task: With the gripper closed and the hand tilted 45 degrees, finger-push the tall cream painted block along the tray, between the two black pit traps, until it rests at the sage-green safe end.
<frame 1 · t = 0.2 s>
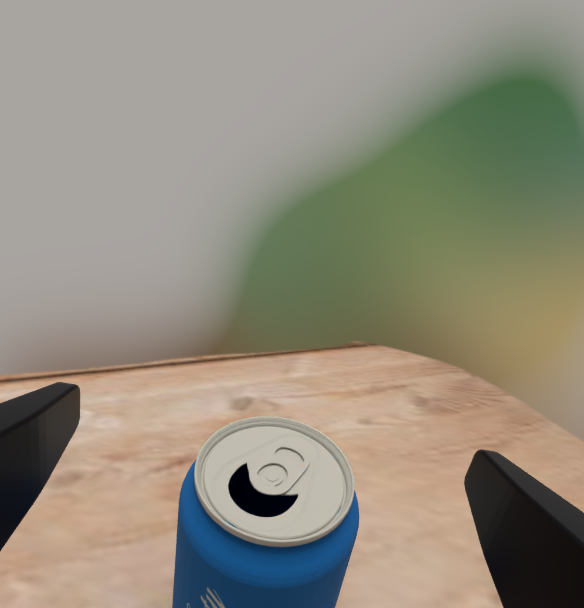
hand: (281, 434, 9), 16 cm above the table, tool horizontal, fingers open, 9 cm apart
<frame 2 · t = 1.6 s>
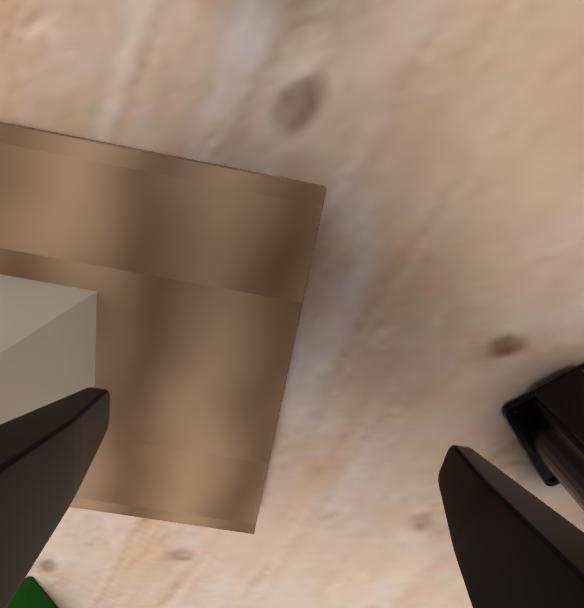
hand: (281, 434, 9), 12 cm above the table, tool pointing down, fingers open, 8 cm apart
tray: (47, 329, 21), on the table
cream block: (23, 345, 19), point 2 cm above the table, touching tray
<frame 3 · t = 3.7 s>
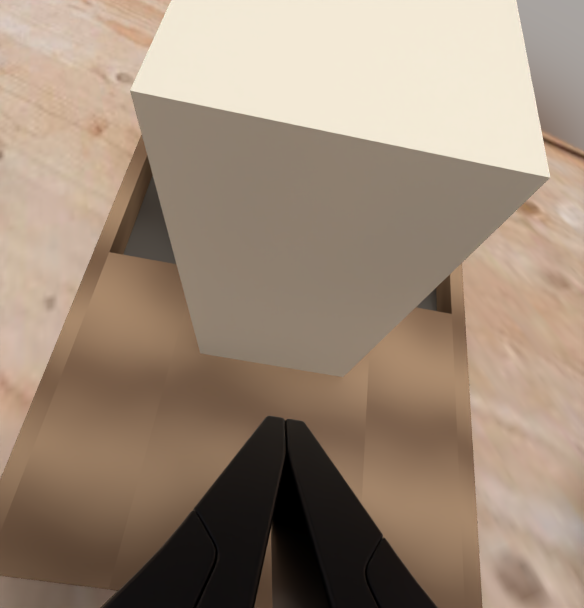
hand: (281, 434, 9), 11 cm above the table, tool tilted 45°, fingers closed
tray: (278, 315, 22), on the table
cream block: (282, 300, 21), point 2 cm above the table, touching tray
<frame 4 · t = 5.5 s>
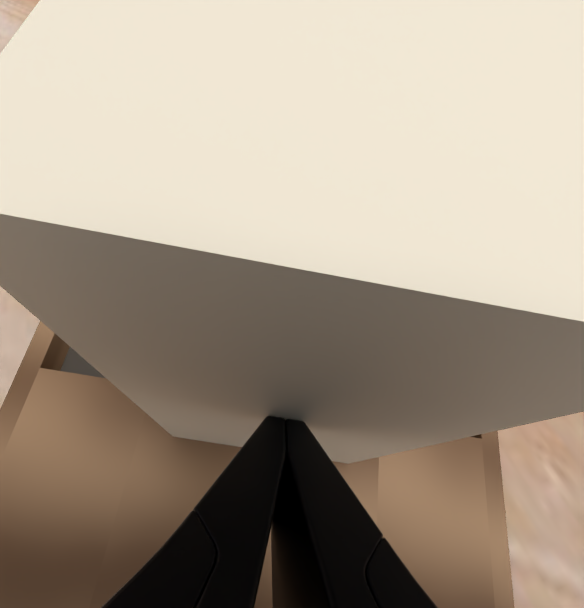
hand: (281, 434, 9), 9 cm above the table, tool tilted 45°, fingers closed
tray: (261, 435, 18), on the table
cream block: (275, 365, 17), point 2 cm above the table
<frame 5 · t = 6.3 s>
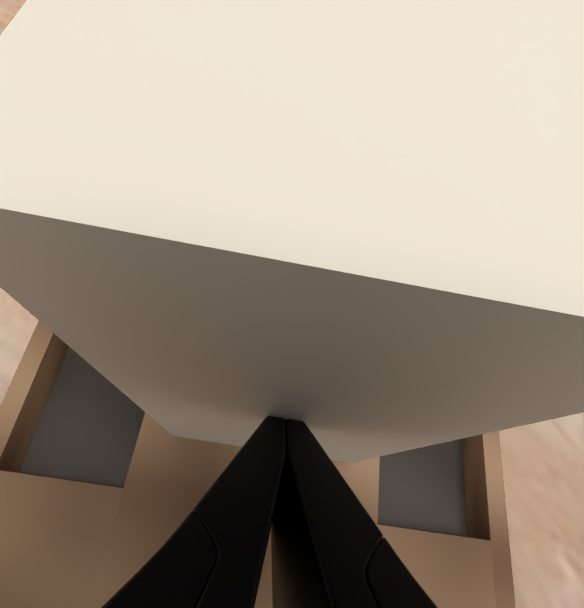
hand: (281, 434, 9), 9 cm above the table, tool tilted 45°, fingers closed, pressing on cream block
tray: (246, 532, 16), on the table
cream block: (275, 364, 17), point 2 cm above the table, touching gripper
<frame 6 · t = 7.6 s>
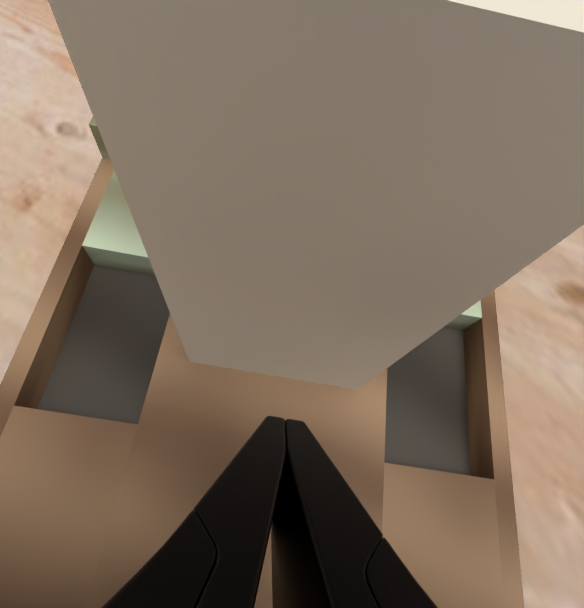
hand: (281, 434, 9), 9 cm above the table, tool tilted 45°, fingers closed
tray: (256, 473, 16), on the table
cream block: (286, 299, 18), point 2 cm above the table, touching tray
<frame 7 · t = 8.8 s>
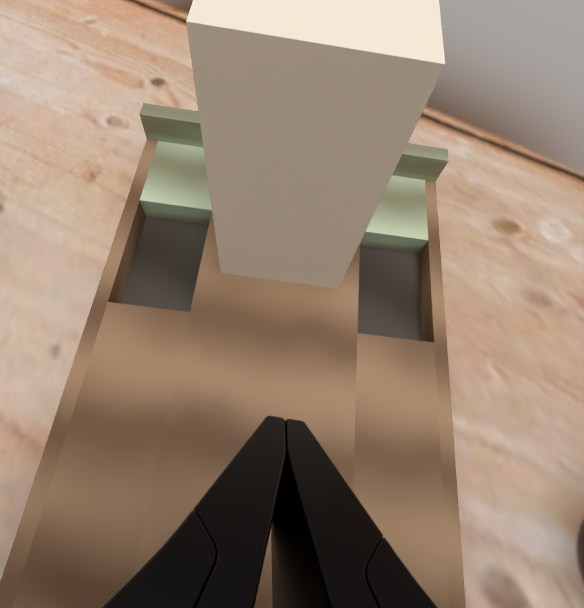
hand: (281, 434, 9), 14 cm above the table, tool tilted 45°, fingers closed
tray: (270, 350, 24), on the table
cream block: (285, 231, 25), point 2 cm above the table, touching tray
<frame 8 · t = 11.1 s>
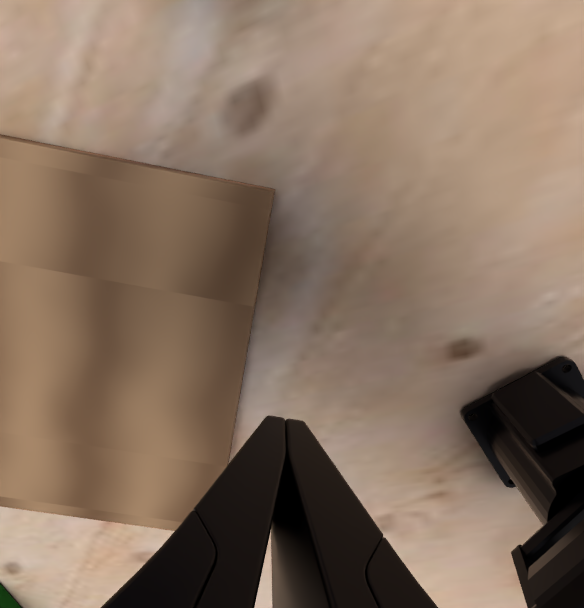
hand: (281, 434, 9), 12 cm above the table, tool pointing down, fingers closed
tray: (2, 332, 21), on the table
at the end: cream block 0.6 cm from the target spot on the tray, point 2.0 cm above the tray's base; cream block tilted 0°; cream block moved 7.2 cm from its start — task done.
